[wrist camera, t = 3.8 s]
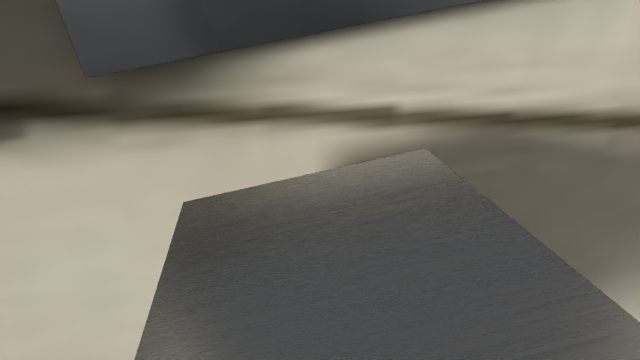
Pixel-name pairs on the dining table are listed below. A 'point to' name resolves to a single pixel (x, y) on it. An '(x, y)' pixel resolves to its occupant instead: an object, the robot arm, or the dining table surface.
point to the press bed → (207, 26)
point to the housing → (372, 276)
